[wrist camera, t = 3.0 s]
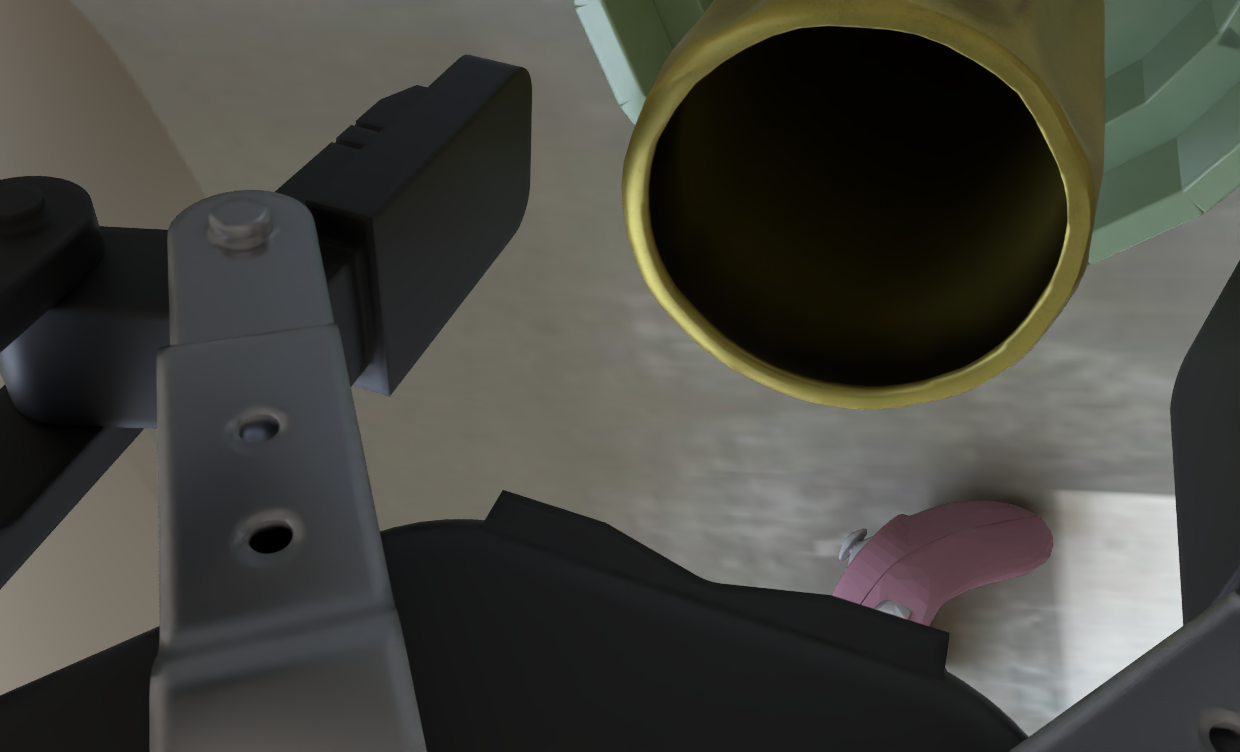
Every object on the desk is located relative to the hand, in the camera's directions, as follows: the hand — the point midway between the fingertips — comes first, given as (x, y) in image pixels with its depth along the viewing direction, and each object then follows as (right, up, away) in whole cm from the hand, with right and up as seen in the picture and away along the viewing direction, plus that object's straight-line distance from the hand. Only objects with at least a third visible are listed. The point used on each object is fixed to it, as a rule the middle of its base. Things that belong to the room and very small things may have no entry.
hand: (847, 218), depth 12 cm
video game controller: (+7, -8, +24) cm, 26 cm away
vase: (+5, +9, +10) cm, 14 cm away
